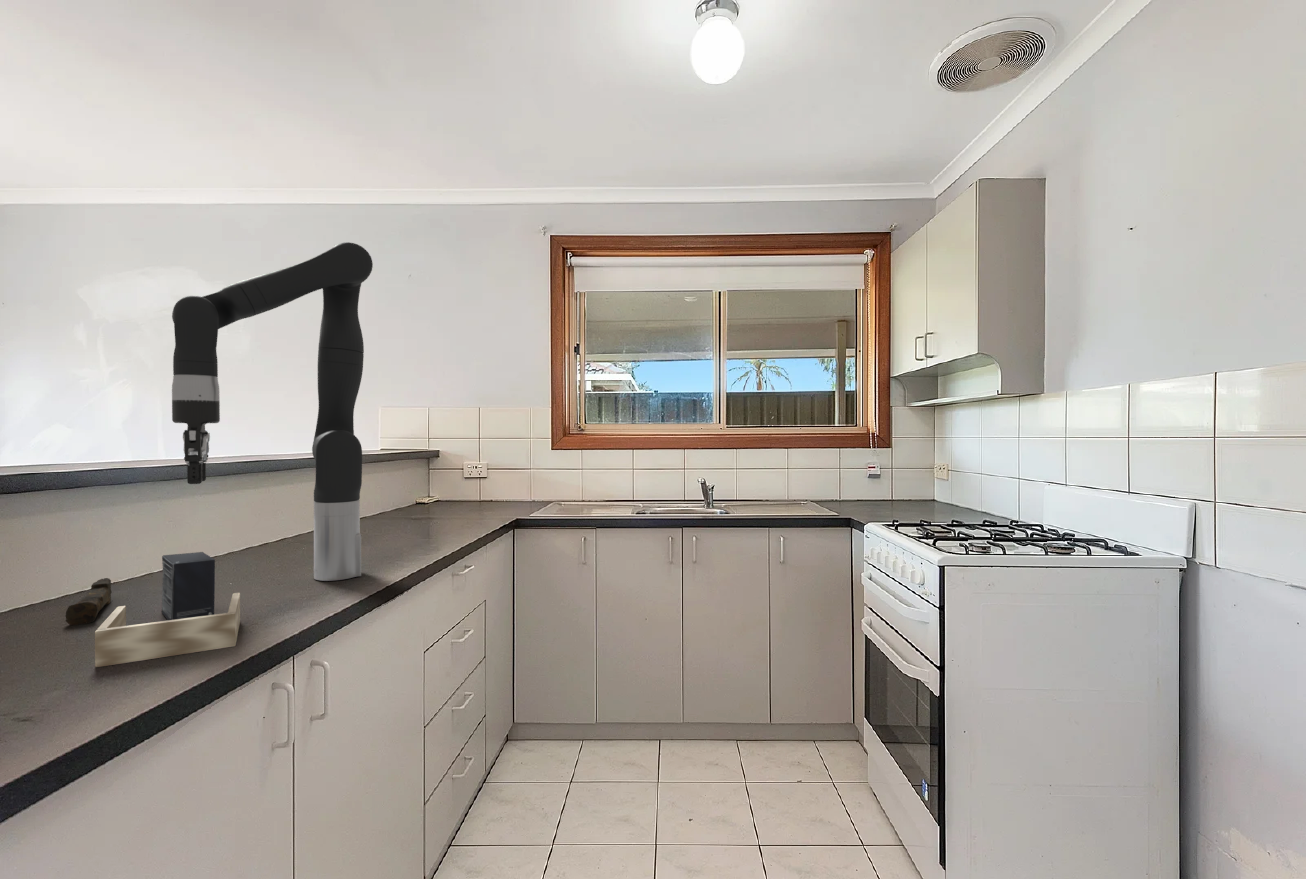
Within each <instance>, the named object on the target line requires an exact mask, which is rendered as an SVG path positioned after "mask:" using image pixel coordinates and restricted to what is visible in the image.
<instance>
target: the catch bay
mask: <svg viewBox="0 0 1306 879" xmlns="http://www.w3.org/2000/svg"><path fill="white" fill-rule="evenodd" d="M240 624H241V592H234V593H232V596H231V600H230V604H229V606H228V611H227V612H223V613H217V614H216V613H214V615H207V616H199V617H192V618H184V619H176V620H161V621H160V620H159V621H155V622H154V621H153V622H147V623H139V624H130V625H127V605H121V606H117V607H116V608H115V609H114V610H113V611H112V612H110V614H109V615H108V617H107V618H106V619H105V620H104V621H103V622H102V623H101V624H100V626H99V627H97V629H96V630H95V631H94V654H95V655H94V660H95V662H94V664H95V665H94V666H95V668H101V667H107V666H112V665H120V664H126V663H127V664H128V663H132V662H133V663H134V662H140V661H146V660H151V659H154V660H155V659H158V658H165V657H173V656H179V655H185V654H193V653H198V652H205V651H212V650H219V649H225V648H231V647H236V644H237V640H238V634H239V630H240Z"/></svg>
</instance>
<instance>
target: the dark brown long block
mask: <svg viewBox="0 0 1306 879" xmlns="http://www.w3.org/2000/svg"><path fill="white" fill-rule="evenodd" d="M111 600H112V580H111V579H110V578H108V577H105V578H101V579H98V580H97V581H95V582H93V583H92V584H91V587H90V591H89V592H88V593H86V595H84V596H83V597H82V598H81V599H79V600H78V601H77V602H76V603H74V604H70V605H69V606H68V607H67V609H66V611H65V623H67V624H68V625H69V626H77V625H84V624H85V625H86V624H91V623H93V622H94V621H96V618H97V616H98V613H99V612H100V611H101V610H103V608H104V606H108V605H110V604H111Z"/></svg>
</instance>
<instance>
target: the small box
mask: <svg viewBox="0 0 1306 879" xmlns="http://www.w3.org/2000/svg"><path fill="white" fill-rule="evenodd" d="M161 559H162V563H161V564H162V588H161V589H162V590H161V593H162V594H161V595H162V596H161V597H162V598H161V610H160V611H161V613H162V615H163V616H164V617H165V618H166V619H167V620H166V621H168V620H176V619H184V618H192V617H199V616H207V615H215V588H216V587H215V580H216V578H215V577H216V575H215V574H216V570H215V569H216V559H215V558H213V557H212V556H210V555H208V553H205V552H203V551H198V552H197V551H196V552H188V553H187V552H185V553H174V554H163V555H162V556H161Z"/></svg>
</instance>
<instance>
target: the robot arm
mask: <svg viewBox="0 0 1306 879" xmlns="http://www.w3.org/2000/svg"><path fill="white" fill-rule="evenodd" d="M373 264H374V263H373V259H372V256H371V254H370V253H369V252H368V251H367V250H366V249H365V247H363V246H361V245H360V244H357V243H355V242H341V243H340V242H339V243H337V244H336V245H335V244H334V245H333V246H332V247H331V248H329V249H328V250H326V251H324V252H322V253H320V254H319V255H316V256H314V257H311V258H310V259H307V260H305V261H302V262H299V263H297V264H293V265H292V266H291V265H290V266H288V267H285V268H280V269H278V270H275V271H272V272H271V271H270V272H267V273H264V274H260V275H256V276H253V277H250V278H248V279H244V280H240V281H237V282H235V283H232V284H229V285H226V286H225V287H223V288H222V289H221V290H219V291H216V292H212V293H210V294H207V295H203V296H199V295H186V296H184V297H182V298H180V299H178V300H177V301H176V303H175V304H174V306H173V309H172V313H171V314H172V315H171V319H172V322H173V324H174V328H173V329H174V330H173V331H174V344H175V345H174V351H173V358H172V367H173V368H172V369H173V370H172V372H173V374H172V375H173V376H172V385H171V420H172V423H175V424H186V425H187V428H186V429H185V430H184V431H183V433H182V440H183V454H184V458H183V460H184V462H185V463H186V464H185V465H186V466H187V467H186V470H187V473H186V474H187V475H186V476H187V484H189V485H199V484H200V485H201V484H202V482H205V481H206V480H207V462H208V458H209V453H210V452H209V451H210V444H209V443H210V440H211V436H210V432H209V431H208V429H206V425H207V424H218V423H220V422H221V418H220V416H221V415H220V414H221V413H220V409H221V408H220V406H221V403H220V384H219V377H218V376H219V375H218V373H219V372H218V371H219V370H218V368H219V366H218V365H219V364H218V363H219V362H218V361H219V360H218V354H217V346H218V345H217V344H218V335H219V329H222V328H225V327H227V326H229V325H231V324H233V323H235V322H237V321H240V320H243V319H247V318H252V317H254V316H257V315H260V314H262V313H265V312H268V311H271V310H274V309H277V308H279V307H281V306H284V305H286V304H288V303H290V302H293V301H295V300H297V299H299V298H302V297H303V296H306V295H308V294H311V293H313V292H316V291H319V290H322V297H323V298H322V303H323V304H322V307H323V308H322V314H321V320H320V330H319V339H318V351H317V352H318V353H317V397H318V398H317V399H318V408H317V409H318V412H317V418H316V425H315V431H314V436H313V442H312V448H311V450H312V451H311V453H312V458H314V460H315V482H314V489H313V578H314V580H315V581H316V580H317V581H321V582H322V581H324V582H328V581H329V582H330V581H342V580H348V579H351V578H355V577H356V578H357V577H362V534H361V533H360V532H361V529H360V528H361V525H360V524H361V520H360V519H361V517H360V516H361V513H360V512H361V508H360V507H361V504H360V501H361V499H360V498H361V495H360V494H361V489H362V483H363V482H362V481H363V449H362V444H361V442H360V440H359V439H358V437H357V436H356V435H355V430H354V427H355V426H354V417H355V416H354V415H355V414H354V412H355V411H354V410H355V405H356V402H357V398H358V394H359V391H360V386H361V383H362V377H363V373H364V372H363V371H364V356H365V353H364V352H365V351H364V350H365V348H364V347H365V346H364V338H363V333H362V327H361V324H360V319H359V300H360V292H361V288H362V283H364V282H365V281H366V280H368V278H369V277H370V275H371V273H372V271H373V268H374V267H373Z"/></svg>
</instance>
